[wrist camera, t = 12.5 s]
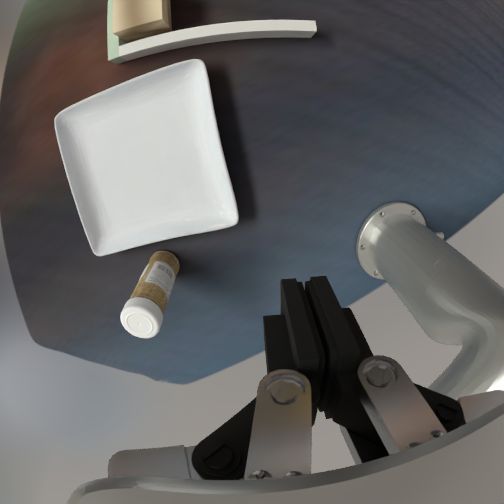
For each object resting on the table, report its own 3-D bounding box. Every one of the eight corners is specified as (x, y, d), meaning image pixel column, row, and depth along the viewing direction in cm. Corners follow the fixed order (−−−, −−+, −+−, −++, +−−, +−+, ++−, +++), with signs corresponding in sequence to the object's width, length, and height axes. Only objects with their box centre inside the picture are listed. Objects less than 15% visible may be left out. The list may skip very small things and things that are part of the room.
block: (170, -4, 22) (161, -19, 18) (172, 31, 25) (162, 18, 21) (127, 8, 22) (113, -4, 18) (127, 42, 25) (112, 33, 21)
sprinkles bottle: (144, 258, 39) (111, 316, 26) (168, 243, 38) (140, 301, 26) (162, 281, 40) (138, 344, 28) (186, 269, 40) (168, 332, 28)
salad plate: (206, 60, 28) (203, 54, 25) (241, 217, 37) (241, 226, 34) (64, 115, 29) (50, 116, 26) (104, 248, 38) (95, 259, 35)
